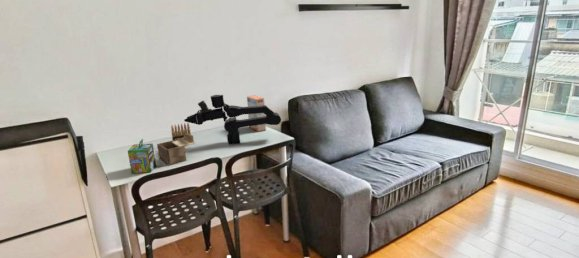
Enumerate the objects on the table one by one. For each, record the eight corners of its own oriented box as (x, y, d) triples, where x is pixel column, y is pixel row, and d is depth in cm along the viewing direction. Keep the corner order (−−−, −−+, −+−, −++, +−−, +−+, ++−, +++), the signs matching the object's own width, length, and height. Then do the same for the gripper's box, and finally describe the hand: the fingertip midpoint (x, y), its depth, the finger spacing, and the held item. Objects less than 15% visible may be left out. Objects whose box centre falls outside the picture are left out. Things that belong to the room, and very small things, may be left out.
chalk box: (137, 166, 168) (132, 137, 164) (156, 165, 169) (152, 136, 165) (130, 174, 160) (125, 143, 155) (151, 172, 160) (146, 142, 156)
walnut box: (176, 154, 183) (174, 139, 180) (186, 160, 173) (184, 145, 171) (159, 158, 177) (157, 144, 175) (169, 165, 168) (166, 150, 165)
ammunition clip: (173, 145, 197) (170, 125, 194) (172, 144, 199) (169, 124, 195) (192, 142, 201) (189, 122, 198) (191, 141, 203) (189, 121, 199)
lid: (185, 139, 183) (184, 131, 182) (194, 143, 175) (193, 136, 174) (171, 142, 179) (170, 135, 177) (180, 147, 171) (179, 139, 170)
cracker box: (266, 130, 218) (264, 98, 213) (257, 132, 216) (255, 99, 210) (257, 125, 230) (254, 94, 224) (248, 127, 227) (246, 96, 221)
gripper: (212, 98, 199) (185, 103, 197) (209, 101, 181) (179, 106, 179) (216, 117, 201) (189, 122, 199) (213, 122, 183) (184, 127, 181)
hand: (185, 119), depth 189 cm, fingers open, 9 cm apart
